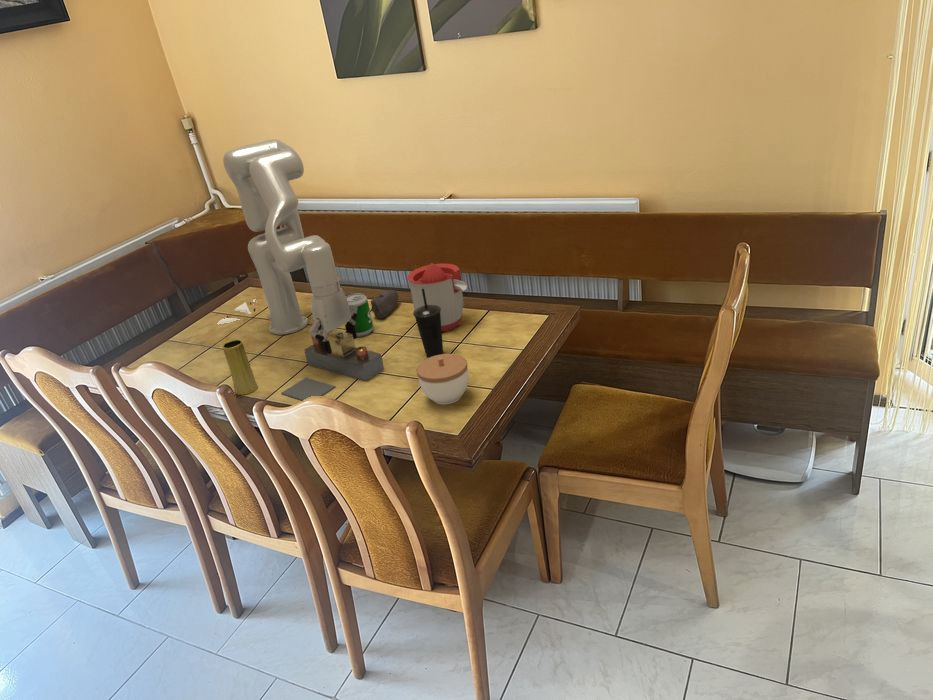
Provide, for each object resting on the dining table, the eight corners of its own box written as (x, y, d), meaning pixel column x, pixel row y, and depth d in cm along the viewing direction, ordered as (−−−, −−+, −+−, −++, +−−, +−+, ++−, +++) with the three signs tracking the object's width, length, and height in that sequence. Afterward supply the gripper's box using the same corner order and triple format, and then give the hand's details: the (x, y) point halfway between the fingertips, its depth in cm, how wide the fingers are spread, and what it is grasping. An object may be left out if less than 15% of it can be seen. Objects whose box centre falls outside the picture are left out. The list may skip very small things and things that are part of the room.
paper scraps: (224, 335, 239) (222, 329, 238) (196, 331, 246) (194, 325, 245) (278, 303, 259) (277, 298, 258) (251, 300, 266) (250, 294, 265)
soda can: (369, 337, 220) (361, 301, 214) (346, 338, 222) (338, 302, 216) (377, 326, 226) (369, 291, 221) (355, 327, 228) (346, 292, 223)
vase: (238, 386, 203) (223, 340, 197) (259, 382, 203) (245, 337, 197) (233, 396, 198) (218, 350, 191) (255, 393, 198) (241, 346, 191)
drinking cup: (452, 348, 205) (441, 283, 196) (442, 361, 198) (430, 295, 190) (427, 348, 207) (415, 283, 199) (417, 360, 201) (404, 294, 192)
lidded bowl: (414, 408, 178) (406, 369, 173) (434, 383, 188) (427, 345, 183) (461, 412, 173) (454, 372, 168) (479, 386, 184) (473, 347, 179)
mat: (281, 394, 195) (281, 392, 195) (306, 378, 201) (305, 377, 201) (310, 403, 188) (310, 402, 188) (335, 387, 194) (335, 386, 194)
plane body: (308, 365, 209) (299, 334, 204) (325, 354, 213) (317, 324, 209) (366, 381, 195) (359, 348, 190) (384, 369, 199) (377, 337, 195)
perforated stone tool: (392, 302, 243) (388, 283, 240) (405, 303, 241) (402, 283, 237) (369, 321, 231) (364, 301, 228) (383, 322, 229) (378, 302, 226)
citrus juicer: (462, 337, 211) (452, 273, 202) (408, 335, 217) (396, 273, 208) (479, 314, 224) (470, 253, 215) (428, 313, 230) (418, 254, 221)
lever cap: (327, 353, 202) (322, 334, 200) (339, 345, 205) (334, 327, 203) (343, 357, 198) (339, 338, 196) (356, 350, 201) (351, 331, 199)
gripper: (339, 275, 201) (352, 330, 209) (292, 299, 190) (308, 356, 197) (358, 278, 197) (371, 334, 204) (311, 302, 185) (326, 361, 193)
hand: (340, 345), depth 201 cm, fingers open, 9 cm apart
